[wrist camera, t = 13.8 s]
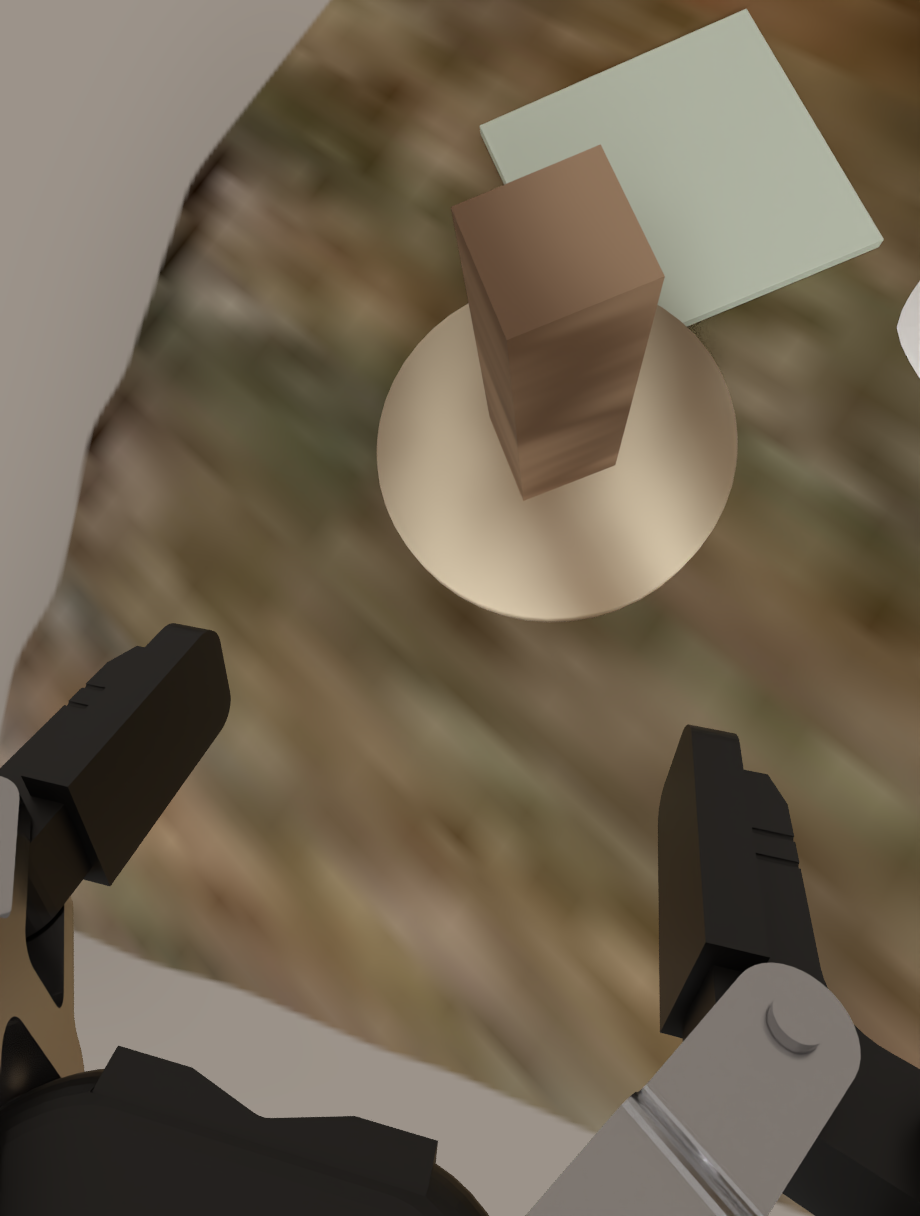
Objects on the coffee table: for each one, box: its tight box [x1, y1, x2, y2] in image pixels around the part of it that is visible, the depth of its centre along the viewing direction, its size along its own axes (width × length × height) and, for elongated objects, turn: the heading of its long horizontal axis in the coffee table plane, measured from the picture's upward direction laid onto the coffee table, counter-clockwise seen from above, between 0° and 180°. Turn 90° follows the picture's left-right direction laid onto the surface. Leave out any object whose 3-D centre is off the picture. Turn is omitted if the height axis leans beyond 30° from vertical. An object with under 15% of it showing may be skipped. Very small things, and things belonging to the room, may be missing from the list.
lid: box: [377, 144, 738, 622], centre depth 20 cm, size 13×13×12 cm
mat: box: [480, 9, 884, 327], centre depth 33 cm, size 14×14×1 cm
